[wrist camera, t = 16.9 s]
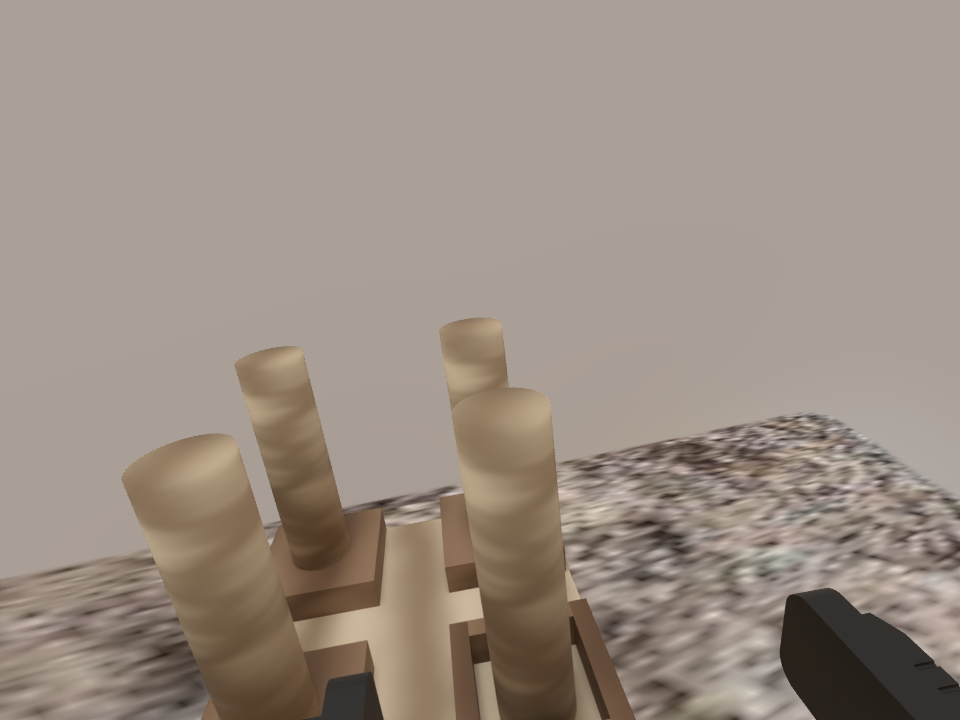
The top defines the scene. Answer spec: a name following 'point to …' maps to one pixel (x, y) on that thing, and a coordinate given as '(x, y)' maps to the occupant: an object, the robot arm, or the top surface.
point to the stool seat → (333, 566)
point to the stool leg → (518, 549)
